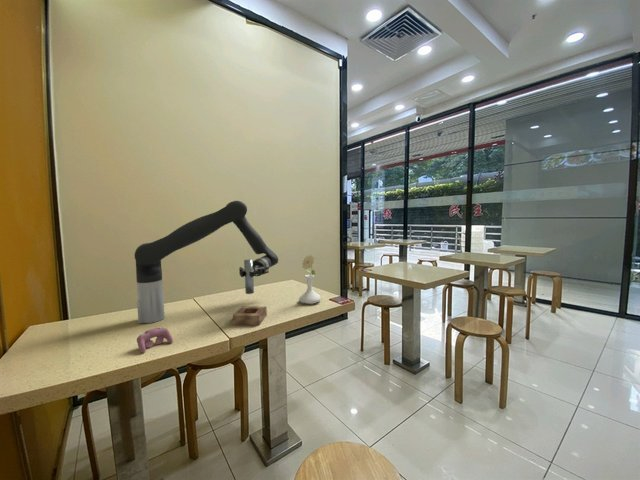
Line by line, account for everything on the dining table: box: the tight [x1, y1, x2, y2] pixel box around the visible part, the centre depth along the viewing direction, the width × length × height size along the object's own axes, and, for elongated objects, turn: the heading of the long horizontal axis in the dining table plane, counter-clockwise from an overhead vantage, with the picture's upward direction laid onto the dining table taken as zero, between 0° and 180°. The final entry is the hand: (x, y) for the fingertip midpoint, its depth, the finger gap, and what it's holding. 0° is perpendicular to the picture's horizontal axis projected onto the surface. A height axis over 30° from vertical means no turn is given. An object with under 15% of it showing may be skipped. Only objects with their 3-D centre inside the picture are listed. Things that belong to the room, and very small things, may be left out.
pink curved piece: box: [136, 326, 174, 354], centre depth 89 cm, size 10×5×7 cm, turn 142°
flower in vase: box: [298, 254, 322, 305], centre depth 132 cm, size 13×11×25 cm
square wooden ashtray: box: [232, 305, 268, 326], centre depth 111 cm, size 11×11×4 cm
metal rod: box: [243, 259, 255, 295], centre depth 110 cm, size 4×4×14 cm
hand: (246, 274), depth 107 cm, fingers closed on metal rod, 3 cm apart
